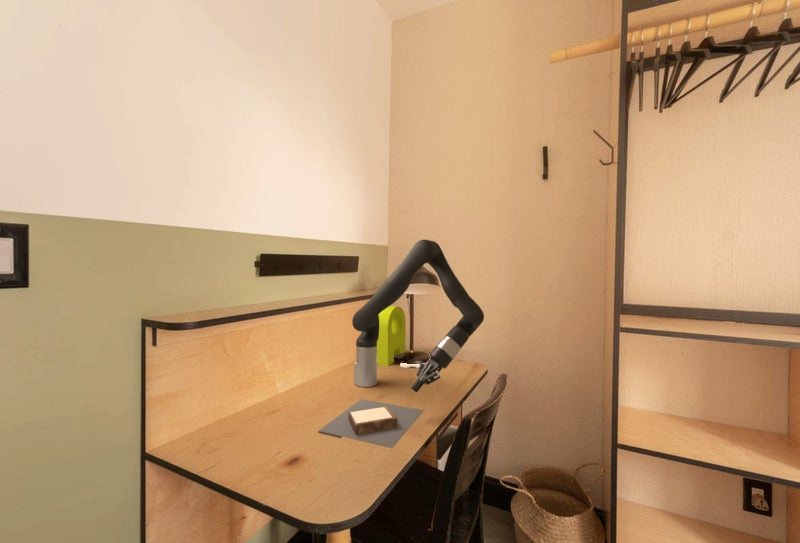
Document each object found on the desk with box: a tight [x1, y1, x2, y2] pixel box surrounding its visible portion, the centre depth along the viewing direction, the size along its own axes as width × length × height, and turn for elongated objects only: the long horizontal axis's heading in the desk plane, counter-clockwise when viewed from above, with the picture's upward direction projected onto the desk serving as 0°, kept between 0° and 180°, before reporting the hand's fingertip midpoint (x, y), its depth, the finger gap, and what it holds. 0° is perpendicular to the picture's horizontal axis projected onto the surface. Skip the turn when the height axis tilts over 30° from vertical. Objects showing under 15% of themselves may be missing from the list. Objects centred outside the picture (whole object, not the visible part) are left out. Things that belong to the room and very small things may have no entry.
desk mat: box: [317, 398, 425, 449], centre depth 119 cm, size 26×28×1 cm
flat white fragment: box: [399, 362, 425, 369], centre depth 190 cm, size 21×4×25 cm
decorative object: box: [377, 305, 407, 367], centre depth 192 cm, size 20×7×30 cm, turn 152°
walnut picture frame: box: [348, 406, 397, 435], centre depth 116 cm, size 3×10×14 cm
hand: (413, 390), depth 121 cm, fingers closed
